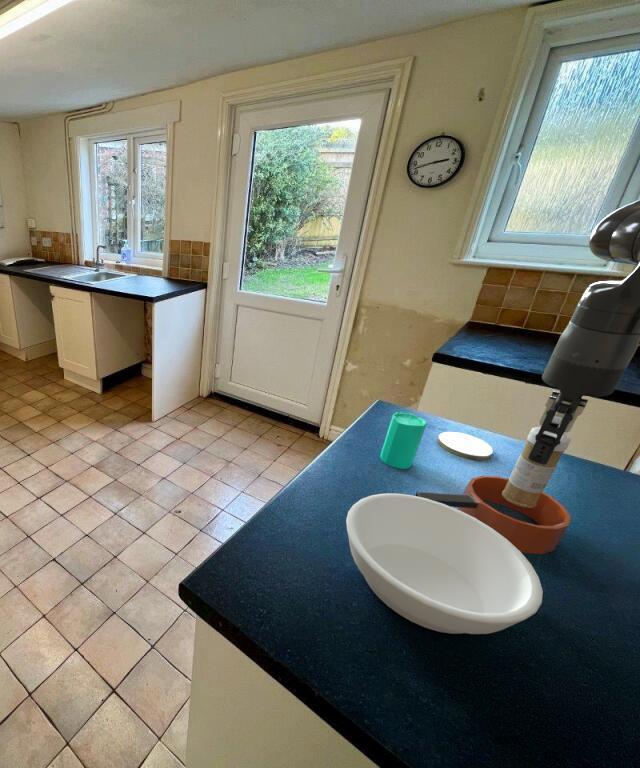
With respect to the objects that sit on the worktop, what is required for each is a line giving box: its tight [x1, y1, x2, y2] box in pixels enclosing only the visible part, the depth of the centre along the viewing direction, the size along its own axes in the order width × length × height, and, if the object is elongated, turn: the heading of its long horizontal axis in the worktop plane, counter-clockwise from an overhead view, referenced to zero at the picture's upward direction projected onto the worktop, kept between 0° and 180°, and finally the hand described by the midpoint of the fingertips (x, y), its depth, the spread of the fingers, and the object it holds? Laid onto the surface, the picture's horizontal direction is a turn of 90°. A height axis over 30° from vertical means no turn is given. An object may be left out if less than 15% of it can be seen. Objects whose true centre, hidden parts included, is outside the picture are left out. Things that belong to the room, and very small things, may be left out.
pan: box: [414, 474, 572, 555], centre depth 72 cm, size 22×13×6 cm, turn 84°
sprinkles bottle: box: [502, 426, 571, 508], centre depth 68 cm, size 5×5×14 cm
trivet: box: [437, 431, 494, 461], centre depth 95 cm, size 10×10×1 cm
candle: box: [379, 411, 427, 470], centre depth 88 cm, size 6×6×12 cm
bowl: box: [345, 493, 544, 635], centre depth 60 cm, size 22×22×8 cm
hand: (540, 454), depth 67 cm, fingers closed on sprinkles bottle, 4 cm apart
